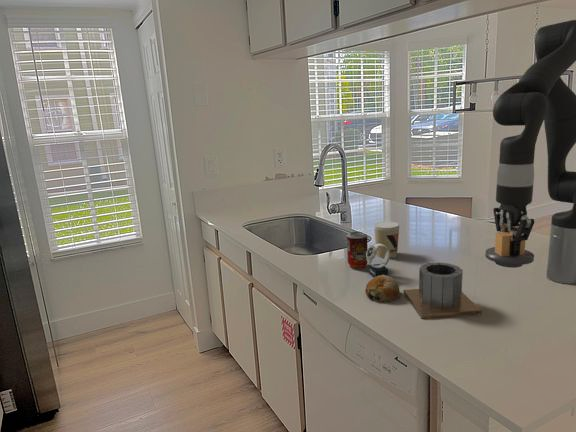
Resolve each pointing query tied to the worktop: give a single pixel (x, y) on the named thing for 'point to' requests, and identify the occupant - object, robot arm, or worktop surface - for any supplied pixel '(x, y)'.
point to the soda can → (357, 250)
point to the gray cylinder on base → (440, 292)
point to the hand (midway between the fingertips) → (510, 252)
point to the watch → (377, 268)
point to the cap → (502, 252)
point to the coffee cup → (386, 238)
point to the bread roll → (382, 289)
